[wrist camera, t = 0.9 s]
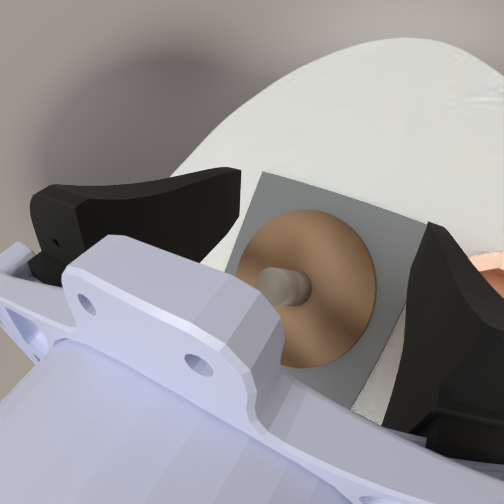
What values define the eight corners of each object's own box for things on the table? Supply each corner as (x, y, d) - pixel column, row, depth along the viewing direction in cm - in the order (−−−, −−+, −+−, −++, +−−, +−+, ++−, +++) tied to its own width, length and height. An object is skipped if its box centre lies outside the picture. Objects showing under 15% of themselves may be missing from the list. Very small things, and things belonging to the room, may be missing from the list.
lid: (331, 395, 25) (305, 411, 21) (221, 321, 34) (187, 322, 30) (403, 242, 23) (389, 231, 20) (270, 194, 32) (239, 179, 28)
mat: (341, 422, 24) (339, 424, 24) (206, 327, 35) (204, 327, 35) (434, 228, 22) (434, 227, 22) (264, 172, 33) (262, 171, 33)
